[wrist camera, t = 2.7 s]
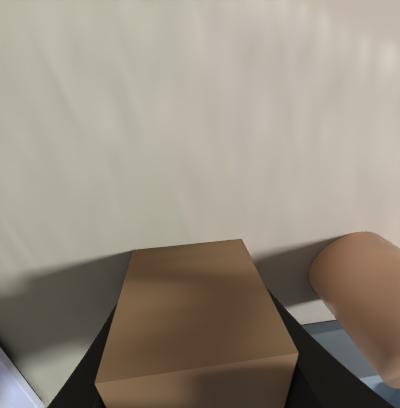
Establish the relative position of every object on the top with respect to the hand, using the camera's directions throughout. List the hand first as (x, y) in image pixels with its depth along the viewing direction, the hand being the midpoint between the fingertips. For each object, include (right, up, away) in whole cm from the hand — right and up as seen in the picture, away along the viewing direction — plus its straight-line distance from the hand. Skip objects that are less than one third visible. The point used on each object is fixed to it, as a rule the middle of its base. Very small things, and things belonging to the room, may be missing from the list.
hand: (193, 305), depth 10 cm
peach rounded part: (+8, +1, +2) cm, 9 cm away
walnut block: (0, +1, +1) cm, 1 cm away
